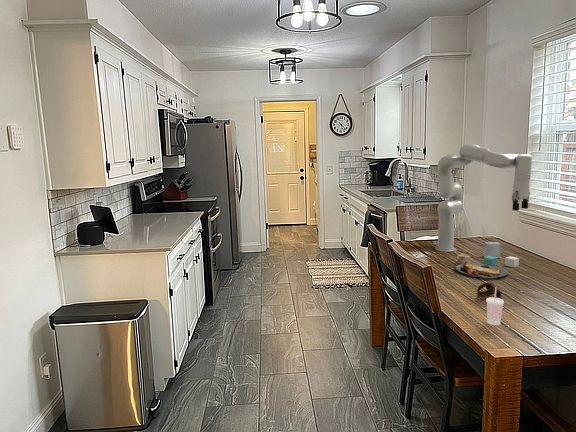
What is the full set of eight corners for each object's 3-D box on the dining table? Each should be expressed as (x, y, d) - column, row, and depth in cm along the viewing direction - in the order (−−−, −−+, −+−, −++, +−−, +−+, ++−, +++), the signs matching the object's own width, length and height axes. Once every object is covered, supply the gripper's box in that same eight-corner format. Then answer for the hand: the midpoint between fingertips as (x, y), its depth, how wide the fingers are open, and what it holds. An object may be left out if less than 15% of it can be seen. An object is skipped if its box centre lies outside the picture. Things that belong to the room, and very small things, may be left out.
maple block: (457, 263, 246) (457, 255, 245) (462, 261, 249) (462, 254, 248) (465, 265, 242) (465, 257, 241) (470, 263, 245) (470, 255, 244)
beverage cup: (505, 323, 165) (508, 287, 162) (497, 327, 161) (499, 291, 159) (490, 318, 170) (492, 283, 167) (481, 321, 166) (483, 287, 164)
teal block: (483, 265, 242) (483, 257, 241) (488, 263, 245) (488, 255, 244) (491, 266, 238) (492, 259, 237) (496, 265, 241) (497, 257, 240)
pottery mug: (504, 305, 184) (495, 289, 182) (482, 311, 189) (473, 295, 188) (503, 289, 194) (495, 274, 192) (482, 295, 199) (474, 281, 197)
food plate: (447, 273, 228) (448, 266, 227) (464, 264, 244) (465, 258, 244) (498, 284, 211) (498, 277, 210) (512, 273, 228) (513, 267, 227)
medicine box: (497, 256, 258) (498, 242, 257) (500, 258, 254) (501, 243, 253) (483, 256, 259) (484, 242, 258) (486, 258, 255) (487, 243, 253)
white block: (504, 265, 240) (505, 257, 239) (509, 264, 243) (510, 256, 242) (513, 267, 236) (514, 259, 235) (518, 265, 239) (519, 258, 238)
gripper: (523, 176, 240) (520, 207, 243) (507, 178, 230) (505, 210, 233) (537, 177, 234) (534, 208, 237) (521, 179, 224) (519, 211, 227)
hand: (520, 209), depth 235 cm, fingers open, 9 cm apart
